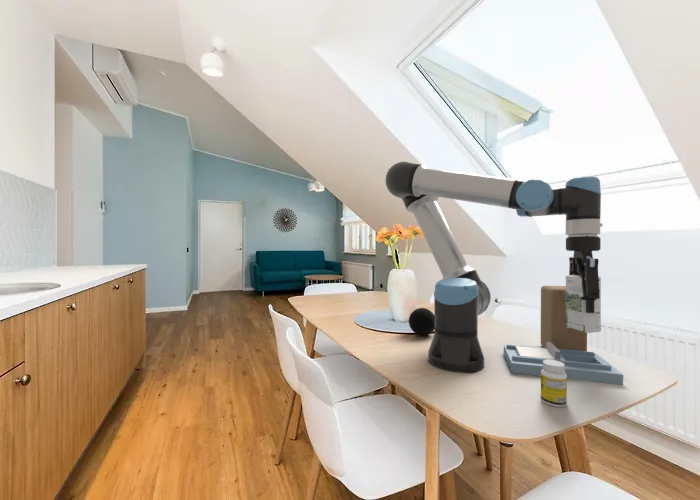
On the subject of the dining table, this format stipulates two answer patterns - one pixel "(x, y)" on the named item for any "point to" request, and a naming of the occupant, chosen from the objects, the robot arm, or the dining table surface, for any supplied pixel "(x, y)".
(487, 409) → the dining table surface
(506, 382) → the dining table surface
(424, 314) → the decorative ball
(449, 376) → the dining table surface
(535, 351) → the cover
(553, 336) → the wooden block
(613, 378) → the compartment tray
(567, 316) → the syrup box
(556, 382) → the supplement bottle
